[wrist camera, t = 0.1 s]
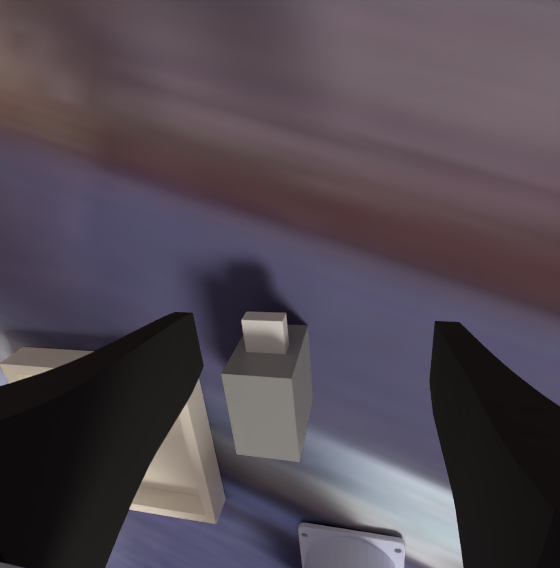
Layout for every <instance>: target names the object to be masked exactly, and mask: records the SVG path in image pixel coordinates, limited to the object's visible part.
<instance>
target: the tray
mask: <svg viewBox="0 0 560 568" xmlns="http://www.w3.org/2000/svg"><path fill="white" fill-rule="evenodd" d="M92 352H94V351H81V350H65V349H49V348H33V347H22V348H21V349H19V350H18V351H16V352H15V353H14V354H12V355H11V356H9V357H8V358H7V359H5V360H4V361H2V362H1V363H0V367H1V369H2V371H3V373H4V375H5V377H6V379H7V381H8V384H9V383H12V382H15V381H18V380H22V379H25V378H28V377H31V376H34V375H37V374H40V373H43V372H46V371H48V370H51V369H54V368H56V367H59V366H61V365H64V364H66V363H69V362H71V361H74V360H76V359H78V358H81V357H83V356H85V355H87V354H90V353H92ZM225 500H226V499H225V494H224V489H223V485H222V480H221V476H220V471H219V467H218V462H217V458H216V453H215V449H214V444H213V439H212V435H211V430H210V426H209V421H208V417H207V412H206V408H205V403H204V398H203V394H202V389H201V385H200V380H199V379H198V381H197V384H196V386H195V388H194V390H193V393H192V394H191V396H190V398H189V400H188V401H187V403H186V405H185V406H184V408H183V410H182V412H181V413H180V415H179V417H178V418H177V420H176V421H175V423H174V425H173V426H172V428H171V430H170V431H169V433H168V435H167V436H166V438H165V440H164V441H163V443H162V444H161V446H160V448H159V449H158V451H157V453H156V455H155V456H154V458H153V460H152V462H151V464H150V465H149V467H148V470H147V472H146V474H145V476H144V478H143V480H142V482H141V484H140V487H139V489H138V491H137V493H136V495H135V497H134V499H133V502H132V504H131V506H130V509H129V510H135V511H141V512H147V513H153V514H159V515H165V516H171V517H177V518H183V519H189V520H195V521H201V522H206V523H212V524H217V521H218V518H219V516H220V513H221V510H222V508H223V505H224V502H225Z"/></svg>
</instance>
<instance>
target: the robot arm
mask: <svg viewBox="0 0 560 568" xmlns="http://www.w3.org/2000/svg"><path fill="white" fill-rule="evenodd" d="M203 366H204V365H203V361H202V356H201V351H200V346H199V341H198V336H197V331H196V327H195V322H194V317H193V313H185V312H174V313H172V314H169V315H167V316H164V317H162V318H160V319H158V320H156V321H154V322H152V323H150V324H148V325H146V326H144V327H142V328H140V329H138V330H136V331H134V332H132V333H130V334H128V335H127V336H125V337H123V338H121V339H119V340H117V341H115V342H113V343H110V344H108V345H106V346H104V347H102V348H100V349H98V350H96V351H94V352H92V353H90V354H87V355H85V356H83V357H81V358H78V359H76V360H74V361H71V362H69V363H66V364H64V365H61V366H59V367H56V368H54V369H51V370H48V371H46V372H43V373H40V374H37V375H34V376H31V377H28V378H25V379H22V380H18V381H15V382H12V383H9V384H6V385H3V386H0V568H105V567H106V564H107V562H108V559H109V557H110V554H111V552H112V549H113V547H114V544H115V542H116V539H117V537H118V534H119V532H120V529H121V527H122V525H123V522H124V520H125V518H126V516H127V513H128V511H129V509H130V506H131V504H132V502H133V499H134V497H135V495H136V493H137V491H138V489H139V487H140V484H141V482H142V480H143V478H144V476H145V474H146V472H147V470H148V467H149V465H150V464H151V462H152V460H153V458H154V456H155V455H156V453H157V451H158V449H159V448H160V446H161V444H162V443H163V441H164V440H165V438H166V436H167V435H168V433H169V431H170V430H171V428H172V426H173V425H174V423H175V421H176V420H177V418H178V417H179V415H180V413H181V412H182V410H183V408H184V406H185V405H186V403H187V401H188V400H189V398H190V396H191V394H192V393H193V390H194V388H195V386H196V384H197V381H198V379H199V376H200V374H201V371H202V369H203ZM430 391H431V400H432V409H433V415H434V420H435V424H436V428H437V432H438V436H439V441H440V445H441V449H442V453H443V457H444V461H445V465H446V469H447V473H448V477H449V481H450V485H451V489H452V494H453V499H454V504H455V509H456V516H457V523H458V530H459V537H460V544H461V551H462V559H463V567H464V568H560V406H558V405H557V404H555V403H554V402H552V401H551V400H549V399H548V398H546V397H545V396H544V395H542V394H541V393H540V392H538V391H537V390H535V389H534V388H533V387H532V386H530V385H529V384H528V383H526V382H525V381H524V380H523V379H521V378H520V377H519V376H518V375H516V374H515V373H514V372H513V371H511V370H510V369H509V368H508V367H507V366H505V365H504V364H503V363H502V362H501V361H500V360H499V359H497V358H496V357H495V356H494V355H493V354H492V353H491V352H490V351H489V350H488V349H487V348H485V347H484V346H483V345H482V344H481V343H480V342H479V341H478V340H477V339H476V338H475V337H474V336H473V335H472V334H471V333H470V332H469V331H468V330H467V329H466V328H465V327H464V326H463V325H462V324H461V323H460V322H443V321H435V326H434V337H433V348H432V360H431V371H430ZM298 533H299V542H300V551H301V560H302V568H404V557H405V541H404V540H403V539H401V538H399V537H393V536H387V535H380V534H374V533H368V532H361V531H355V530H349V529H342V528H336V527H330V526H324V525H317V524H311V523H304V522H303V523H300V524H299V527H298Z"/></svg>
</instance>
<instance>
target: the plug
mask: <svg viewBox="0 0 560 568" xmlns="http://www.w3.org/2000/svg"><path fill="white" fill-rule="evenodd" d="M241 322H242V328H243V336H242V338H241V339H240V341H239V343H238V345H237V347H236V348H235V350H234V352H233V354H232V356H231V357H230V359H229V361H228V363H227V364H226V366H225V368H224V370H223V372H222V373H221V375H222V380H223V385H224V391H225V396H226V401H227V407H228V412H229V417H230V422H231V428H232V433H233V438H234V444H235V449H236V454H237V455H245V456H254V457H262V458H270V459H278V460H286V461H294V462H300V458H301V453H302V449H303V444H304V439H305V435H306V430H307V425H308V421H309V416H310V411H311V407H312V402H313V391H312V377H311V363H310V349H309V335H308V325H287V317H286V313H278V312H246V313H245V315H244V316H243V318H242V320H241Z"/></svg>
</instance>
